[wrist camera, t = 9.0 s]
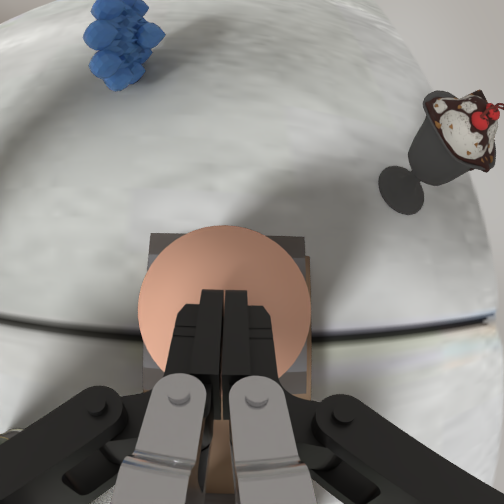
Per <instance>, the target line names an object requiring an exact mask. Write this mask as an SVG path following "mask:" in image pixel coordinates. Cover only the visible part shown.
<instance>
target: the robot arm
mask: <svg viewBox="0 0 504 504" xmlns="http://www.w3.org/2000/svg"><path fill="white" fill-rule="evenodd" d="M221 402H222V403H223V420H229V435H230V436H229V438H230V453H231V464H232V474H233V484H234V494H235V504H317V501H316V497H315V493H314V488H313V484H312V480H311V478H312V479H313V480H315V481H316V482H317V483H318V484H319V485H321V486H322V487H323V488H324V489H326V490H327V491H328V492H329V493H331V494H332V495H333V496H334V497H336V498H337V499H338V500H340V501H341V502H342V503H344V504H504V494H503V493H501V492H499V491H498V490H496V489H494V488H493V487H491V486H489V485H487V484H486V483H484V482H482V481H481V480H479V479H477V478H476V477H474V476H472V475H471V474H469V473H467V472H466V471H464V470H462V469H461V468H459V467H458V466H456V465H454V464H453V463H451V462H450V461H448V460H446V459H445V458H443V457H442V456H440V455H439V454H437V453H436V452H434V451H432V450H431V449H429V448H428V447H426V446H425V445H423V444H422V443H420V442H419V441H417V440H416V439H414V438H413V437H411V436H410V435H408V434H407V433H405V432H404V431H402V430H401V429H399V428H398V427H397V426H395V425H394V424H392V423H391V422H389V421H388V420H386V419H385V418H384V417H382V416H381V415H379V414H378V413H376V412H375V411H374V410H372V409H371V408H369V407H368V406H366V405H365V404H364V403H362V402H361V401H360V400H358V399H356V398H354V397H352V396H349V395H344V394H337V395H332V396H329V397H327V398H325V399H324V400H322V402H321V403H320V402H315V401H310V400H306V399H302V398H298V397H296V396H294V395H292V394H290V393H289V392H288V391H286V390H285V389H284V388H283V386H282V385H281V383H280V381H279V378H278V372H277V363H276V355H275V347H274V340H273V332H272V324H271V316H270V315H269V313H268V312H267V311H266V309H265V308H264V306H257V305H248V297H247V290H225V307H224V290H215V289H202V291H201V297H200V303H199V304H185V305H184V306H183V308H182V309H181V310H180V311H179V312H178V313H177V317H176V321H175V328H174V330H173V337H172V339H171V344H170V349H169V353H168V358H167V363H166V368H165V373H164V376H163V378H162V379H160V380H159V381H158V382H157V383H156V384H155V386H154V388H153V389H151V390H149V391H147V392H145V393H141V394H136V395H130V396H123V397H120V396H119V395H118V393H117V392H116V391H114V390H113V389H111V388H109V387H105V386H93V387H89V388H87V389H85V390H83V391H82V392H80V393H79V394H77V395H76V396H74V397H73V398H71V399H70V400H68V401H67V402H65V403H64V404H62V405H61V406H59V407H58V408H56V409H55V410H53V411H52V412H50V413H49V414H47V415H45V416H44V417H42V418H41V419H39V420H38V421H36V422H35V423H33V424H32V425H30V426H29V427H27V428H25V429H24V430H22V431H21V432H19V433H18V434H16V435H15V436H13V437H12V438H10V439H8V440H7V441H5V442H4V443H2V444H1V445H0V504H89V503H90V502H92V501H93V500H95V499H96V498H97V497H99V496H100V495H102V494H103V493H104V492H106V491H107V490H108V489H110V488H111V487H112V486H114V485H115V487H114V491H113V495H112V499H111V503H110V504H205V492H206V483H207V476H208V468H209V460H210V452H211V445H212V438H213V425H214V420H221Z"/></svg>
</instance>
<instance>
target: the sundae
mask: <svg viewBox="0 0 504 504" xmlns="http://www.w3.org/2000/svg"><path fill="white" fill-rule="evenodd" d="M499 105H503V106H504V104H503V103H497V104H496V105H493V104H492V103H488V102H487V100H486V98H485V96H484V94H483V92H482V90H477V91H475V92H473V93H471V94H469V95H467V96H465V97H463V98H460V99H458V98H457V97H455V96H453V95H452V94H450V93H449V92H445V91H434V92H432V93H430V94H428V95H427V96H426V97H425V98H424V101H423V108H424V110H425V113H426V118H425V120H424V122H423V124H422V126H421V128H420V129H419V131H418V133H417V135H416V136H415V138H414V140H413V143H412V145H411V147H410V149H409V152H408V158H409V163H410V166H411V169H412V171H411V172H410V171H408V170H407V169H405V168H402V167H398V166H391V167H388V168H386V169H384V170H383V171H382V173H381V174H380V177H379V188H380V192H381V194H382V197H383V198H384V200H385V201H386V202H387V204H388V205H389V206H390V207H392V208H393V209H394V210H396V211H397V212H399V213H402V214H406V215H410V214H415V213H417V212H418V211H419V210H420V209H421V207H422V205H423V202H424V193H423V190H422V187H421V185H420V181H422V182H424V183H426V184H429V185H433V186H438V185H442V184H444V183H447V182H450V181H451V180H453V179H455V178H457V177H459V176H460V175H462V174H464V173H466V172H468V171H471V170H474V169H478V170H482V171H483V172H488V171H489V170H490V169H491V168H493V167H494V165H495V159H496V158H495V157H496V148H495V142H494V141H495V140H494V137H495V134H496V131H497V128H498V122H497V120H498V119H499V116H500V112H499V110H498V108H500V109H503V110H504V107H500V106H499Z"/></svg>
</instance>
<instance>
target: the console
mask: <svg viewBox="0 0 504 504" xmlns="http://www.w3.org/2000/svg"><path fill="white" fill-rule="evenodd" d="M183 235H185V234H171V233H151V236H150V245H149V255H148V267H147V271H148V270H149V268H150V266H151V264H152V263H153V262H154V260H155V259H156V258H157V256H158V255H159V254H160V253H161V252H162V251H163V250H164V249H165V248H166V247H167V246H168V245H170V244H171V243H172V242H174V241H175V240H177V239H178V238H180V237H182V236H183ZM266 237H268V238H270V239H271V240H273V241H274V242H276V243H277V244H278V245H280V246H281V247H282V248H283V249H284V250H285V251H286V252H287V253H288V254H289V255H290V256H291V257H292V259H293V260H294V261H295V263H296V264H297V266H298V267H299V269H300V271H301V273H302V275H303V277H304V279H305V282H306V285H307V287H308V292H309V296H310V304H311V284H310V256H305V241H304V237H291V236H266ZM164 373H165V372H164V371H163V370H162V369H160V367H159V366H158V365H157V364H156V362H155V361H154V360H153V358H152V357H151V355H150V353H149V352H148V350H147V348H146V345H145V343H144V341H143V393H145V392H147V391H149V390H151V389H153V388H154V386H155V384H156V383H157V382H158V381H159V380H160V379H162V378H163V376H164ZM279 381H280V383H281V385H282V386H283V388H284V389H285V390H286V391H288V392H289V393H290V394H292V395H294V396H296V397H298V398H302V399H306V400H310V401H311V321H310V327H309V332H308V335H307V338H306V342H305V344H304V346H303V348H302V350H301V352H300V354H299V356H298V357H297V359H296V360H295V362H294V363H293V364H292V366H291V367H290V368H289V369H288V370H287V371H286V372H285V373H284V374H283V375H282V376H281V377H279ZM229 436H230V435H229V420H223V403H222V402H221V420H214V425H213V438H212V445H211V452H210V460H209V468H208V476H207V483H206V492H205V504H235V494H234V484H233V474H232V464H231V453H230V438H229Z"/></svg>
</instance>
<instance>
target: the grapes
mask: <svg viewBox="0 0 504 504" xmlns="http://www.w3.org/2000/svg"><path fill="white" fill-rule="evenodd" d="M148 9H149V7H148V6H147V5H146V3H145V2H144V1H142V0H96V2H95V3H94V5H93V7H92V9H91V13H92V15H93V16H94V17H95V18H96V19H97V20H96V21H94V22H92V23H91V24H90V25H89V26H88V27H87V29H86V30H85V33H84V35H83V39H84V41H85V43H86V44H87V45H88V46H89V47H90V48H92V49H94V50H100V51H98V52H96V53H95V55H94V56H93V57H92V59H91V61H90V63H89V68H90V70H91V72H92V73H93V74H94V75H95V76H96V77H98V78H100V79H103V81H104V83H105V84H106V86H107V87H108V88H109V89H111V90H113V91H121V90H123V89H124V88H126V87H127V86H128V84H134V83H135V82H137V81H138V80H139V79H140V78H141V77H142V75H143V74H144V73H145V71H146V70H145V69H144V67H143V66H142V65H141V64H143V63H144V62H145V61H146V60H147V59H148V58H149V57H150V56H151V54H152V53H153V52H152V51H151V49H152V48H154V47H156V46H157V45H158V44H159V43H160V41H161V40H162V39H163V38H164V36H165V35H166V34H165V33H164V32H163V31H162V29H161V28H160V27H159V26H157V25H156V24H154V23H149V22H148V21H146V20H145V19H144V18H143V16H144V15H145V14H146V12H147V11H148Z"/></svg>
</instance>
